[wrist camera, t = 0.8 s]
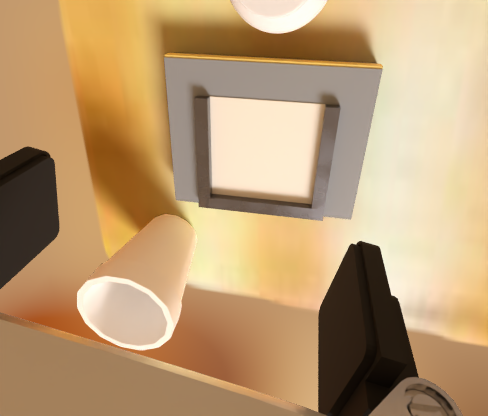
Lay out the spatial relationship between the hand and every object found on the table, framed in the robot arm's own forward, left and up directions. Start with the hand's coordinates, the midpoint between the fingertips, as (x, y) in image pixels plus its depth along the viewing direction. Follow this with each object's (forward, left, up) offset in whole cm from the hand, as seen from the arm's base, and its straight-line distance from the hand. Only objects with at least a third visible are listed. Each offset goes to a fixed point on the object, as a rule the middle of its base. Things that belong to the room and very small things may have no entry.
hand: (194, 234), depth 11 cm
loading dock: (0, +5, -26) cm, 26 cm away
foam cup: (+11, +19, -26) cm, 34 cm away
